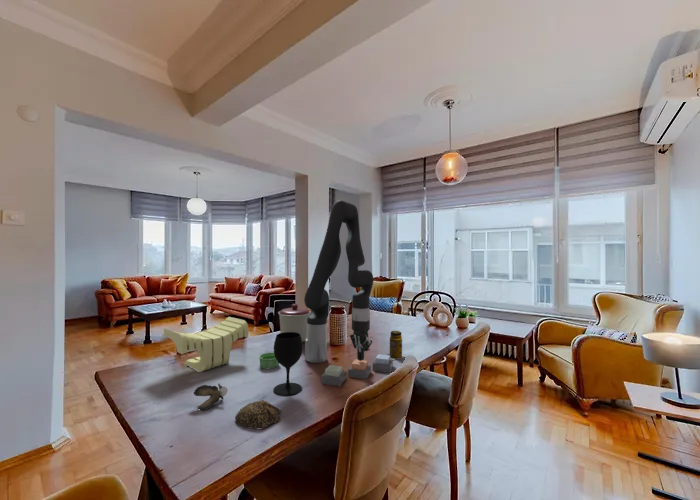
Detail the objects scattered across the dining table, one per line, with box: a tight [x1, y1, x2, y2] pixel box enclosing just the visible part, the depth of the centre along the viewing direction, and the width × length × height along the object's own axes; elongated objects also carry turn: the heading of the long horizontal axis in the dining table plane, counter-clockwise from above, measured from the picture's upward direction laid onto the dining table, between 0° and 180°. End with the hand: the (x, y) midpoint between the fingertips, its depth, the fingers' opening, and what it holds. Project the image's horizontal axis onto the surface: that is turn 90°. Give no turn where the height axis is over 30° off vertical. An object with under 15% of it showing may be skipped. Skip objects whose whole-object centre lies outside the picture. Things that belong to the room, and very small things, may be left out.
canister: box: [277, 303, 311, 343], centre depth 174 cm, size 18×18×21 cm
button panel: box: [320, 358, 394, 387], centre depth 129 cm, size 11×36×3 cm, turn 123°
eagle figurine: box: [193, 383, 228, 411], centre depth 103 cm, size 8×7×9 cm
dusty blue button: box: [375, 354, 390, 365], centre depth 136 cm, size 5×5×3 cm
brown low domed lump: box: [234, 399, 282, 429], centre depth 95 cm, size 13×12×5 cm
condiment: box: [386, 330, 405, 361], centre depth 151 cm, size 7×8×12 cm
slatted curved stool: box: [163, 316, 249, 373], centre depth 137 cm, size 30×16×18 cm, turn 144°
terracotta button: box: [351, 358, 369, 370], centre depth 129 cm, size 5×5×3 cm
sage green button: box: [324, 364, 344, 377], centre depth 122 cm, size 5×5×3 cm
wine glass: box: [272, 332, 304, 397], centre depth 114 cm, size 10×10×20 cm
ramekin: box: [258, 352, 280, 369], centre depth 137 cm, size 9×9×4 cm
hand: (360, 360), depth 129 cm, fingers closed
